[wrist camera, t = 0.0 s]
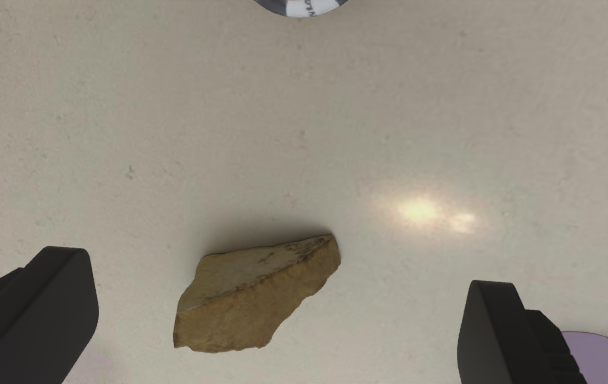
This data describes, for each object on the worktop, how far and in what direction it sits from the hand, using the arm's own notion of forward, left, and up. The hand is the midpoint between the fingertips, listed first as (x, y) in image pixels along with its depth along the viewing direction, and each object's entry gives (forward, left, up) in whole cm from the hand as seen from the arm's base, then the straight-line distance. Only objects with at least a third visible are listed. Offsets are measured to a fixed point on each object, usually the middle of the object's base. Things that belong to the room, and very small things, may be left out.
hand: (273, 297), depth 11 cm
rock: (+14, -3, -22) cm, 26 cm away
